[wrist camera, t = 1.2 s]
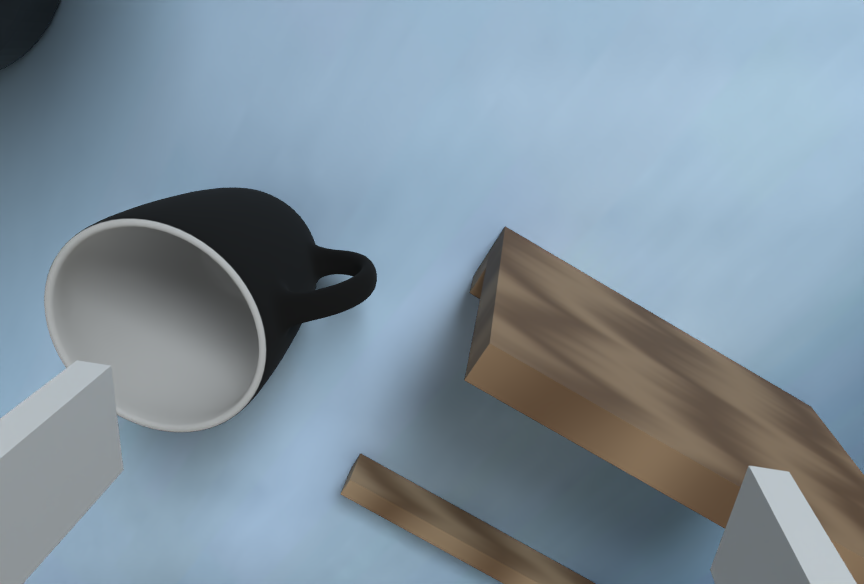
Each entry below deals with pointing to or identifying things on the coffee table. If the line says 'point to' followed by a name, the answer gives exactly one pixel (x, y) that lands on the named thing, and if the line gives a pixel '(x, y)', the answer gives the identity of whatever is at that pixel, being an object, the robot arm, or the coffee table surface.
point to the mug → (194, 301)
